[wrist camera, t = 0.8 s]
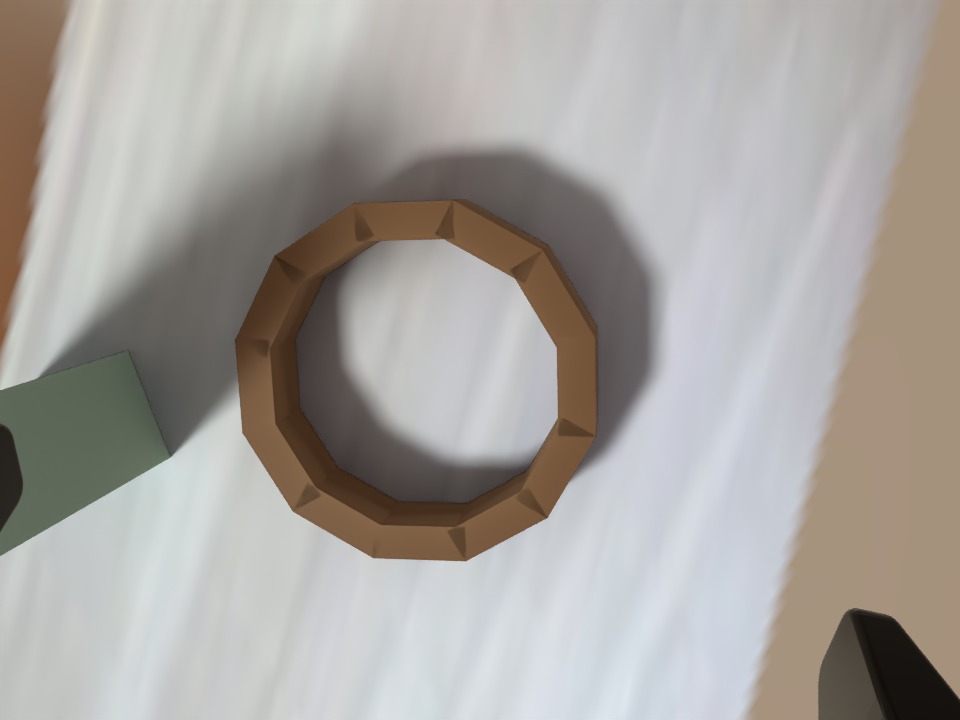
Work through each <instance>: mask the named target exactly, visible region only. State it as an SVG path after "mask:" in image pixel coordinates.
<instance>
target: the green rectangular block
mask: <svg viewBox="0 0 960 720" xmlns="http://www.w3.org/2000/svg"><path fill="white" fill-rule="evenodd" d="M0 423H1V424H4V425H5V426H7V427H8V428H9V429H10V431H11V432H12V434H13V437H14V442H15V446H16V450H17V455H18V459H19V463H20V468H21V472H22V476H23V492H22V496H21V498H20V501H19V503H18V505H17V507H16V508H15V510H14V512H13V513H12V515H11V516H10V518H9V520H8V521H7V523H6V525H5V526H4V528H3V529H2V531H1V533H0V556H1V555H3V554H5V553H6V552H8V551H10V550H11V549H13V548H15V547H17V546H18V545H20V544H22V543H24V542H25V541H27V540H29V539H30V538H32V537H34V536H36V535H37V534H39V533H41V532H43V531H44V530H46V529H48V528H49V527H51V526H53V525H55V524H56V523H58V522H60V521H62V520H63V519H65V518H67V517H68V516H70V515H72V514H74V513H75V512H77V511H79V510H80V509H82V508H84V507H86V506H87V505H89V504H91V503H93V502H94V501H96V500H98V499H99V498H101V497H103V496H105V495H106V494H108V493H110V492H112V491H113V490H115V489H117V488H118V487H120V486H122V485H124V484H125V483H127V482H129V481H131V480H132V479H134V478H136V477H137V476H139V475H141V474H143V473H144V472H146V471H148V470H150V469H151V468H153V467H155V466H156V465H158V464H160V463H162V462H163V461H165V460H167V459H169V458H170V455H169V452H168V450H167V447H166V445H165V442H164V440H163V437H162V435H161V432H160V430H159V427H158V425H157V422H156V420H155V417H154V415H153V412H152V409H151V407H150V404H149V402H148V399H147V397H146V394H145V392H144V389H143V387H142V384H141V382H140V379H139V377H138V374H137V372H136V369H135V367H134V364H133V362H132V359H131V357H130V354H129V352H128V350H127V351H124V352H121V353H118V354H115V355H112V356H108V357H105V358H102V359H99V360H96V361H92V362H89V363H86V364H83V365H80V366H76V367H73V368H70V369H67V370H64V371H61V372H57V373H54V374H51V375H48V376H45V377H41V378H38V379H35V380H32V381H29V382H26V383H22V384H19V385H16V386H13V387H10V388H6V389H3V390H0Z"/></svg>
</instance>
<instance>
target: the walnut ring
mask: <svg viewBox="0 0 960 720" xmlns="http://www.w3.org/2000/svg"><path fill="white" fill-rule="evenodd" d="M427 239H445V240H447V241H449V242H450V243H452V244H454V245H456V246H458V247H459V248H461V249H463V250H465V251H467V252H468V253H470V254H472V255H474V256H476V257H477V258H479V259H481V260H483V261H485V262H486V263H488V264H490V265H492V266H494V267H495V268H497V269H499V270H501V271H503V272H504V273H506V274H508V275H510V276H512V277H513V278H515V279H516V281H517V283H518V284H519V286H520V287H521V289H522V291H523V292H524V294H525V296H526V297H527V299H528V301H529V302H530V304H531V306H532V307H533V309H534V311H535V312H536V314H537V316H538V317H539V319H540V321H541V322H542V324H543V326H544V327H545V329H546V331H547V332H548V334H549V335H550V337H551V339H552V340H553V342H554V344H555V345H556V347H557V380H558V419H557V421H556V422H555V424H554V426H553V428H552V429H551V431H550V433H549V434H548V436H547V438H546V440H545V441H544V443H543V445H542V446H541V448H540V450H539V452H538V453H537V455H536V457H535V459H534V460H533V462H532V464H531V465H530V467H529V469H528V470H527V471H525V472H523V473H522V474H520V475H518V476H516V477H514V478H512V479H511V480H509V481H507V482H505V483H503V484H502V485H500V486H498V487H496V488H494V489H492V490H491V491H489V492H487V493H485V494H483V495H481V496H480V497H478V498H476V499H474V500H472V501H471V502H469V503H433V502H398V501H396V500H394V499H392V498H391V497H389V496H387V495H386V494H384V493H382V492H380V491H379V490H377V489H375V488H373V487H372V486H370V485H368V484H366V483H365V482H363V481H361V480H359V479H358V478H356V477H354V476H352V475H351V474H349V473H347V472H345V471H344V470H342V469H340V468H338V467H337V465H336V464H335V462H334V461H333V459H332V457H331V456H330V454H329V453H328V451H327V450H326V448H325V446H324V445H323V443H322V442H321V440H320V439H319V437H318V435H317V434H316V432H315V431H314V429H313V427H312V426H311V424H310V423H309V421H308V420H307V418H306V416H305V415H304V413H303V412H302V410H301V408H300V400H299V386H298V371H297V356H296V342H295V338H296V336H297V334H298V332H299V329H300V327H301V325H302V323H303V321H304V319H305V317H306V315H307V313H308V311H309V309H310V307H311V305H312V303H313V301H314V299H315V297H316V295H317V293H318V291H319V288H320V286H321V284H322V282H323V280H324V278H325V276H326V275H328V274H329V273H331V272H332V271H334V270H335V269H337V268H338V267H340V266H342V265H343V264H345V263H346V262H348V261H349V260H351V259H352V258H354V257H356V256H357V255H359V254H360V253H362V252H363V251H365V250H366V249H368V248H370V247H371V246H373V245H374V244H376V243H377V242H379V241H387V240H427ZM235 344H236V357H237V369H238V382H239V394H240V407H241V419H242V433H243V434H244V436H245V437H246V439H247V440H248V442H249V444H250V445H251V447H252V448H253V450H254V451H255V453H256V455H257V456H258V458H259V459H260V461H261V462H262V464H263V465H264V467H265V469H266V470H267V472H268V473H269V475H270V476H271V478H272V480H273V481H274V483H275V484H276V486H277V487H278V489H279V491H280V492H281V494H282V495H283V497H284V498H285V500H286V501H287V503H288V505H289V506H290V508H291V509H292V511H293V512H295V513H296V514H298V515H300V516H302V517H303V518H305V519H307V520H308V521H310V522H312V523H314V524H315V525H317V526H319V527H321V528H322V529H324V530H326V531H327V532H329V533H331V534H333V535H334V536H336V537H338V538H340V539H341V540H343V541H345V542H346V543H348V544H350V545H352V546H353V547H355V548H357V549H359V550H360V551H362V552H364V553H366V554H367V555H369V556H371V557H372V558H384V559H414V560H445V561H467V560H469V559H471V558H473V557H475V556H477V555H478V554H480V553H482V552H484V551H486V550H488V549H490V548H492V547H493V546H495V545H497V544H499V543H501V542H503V541H505V540H507V539H509V538H510V537H512V536H514V535H516V534H518V533H520V532H522V531H524V530H525V529H527V528H529V527H531V526H533V525H535V524H537V523H539V522H541V521H542V520H544V519H546V518H548V516H549V514H550V513H551V511H552V509H553V508H554V506H555V504H556V503H557V501H558V499H559V498H560V496H561V494H562V492H563V491H564V489H565V487H566V486H567V484H568V482H569V481H570V479H571V477H572V476H573V474H574V472H575V471H576V469H577V467H578V466H579V464H580V462H581V461H582V459H583V457H584V456H585V454H586V452H587V450H588V449H589V447H590V445H591V444H592V442H593V440H594V439H595V437H596V432H597V423H598V368H597V326H596V324H595V322H594V321H593V319H592V317H591V316H590V314H589V312H588V311H587V309H586V307H585V306H584V304H583V302H582V301H581V299H580V297H579V296H578V294H577V292H576V291H575V289H574V287H573V286H572V284H571V282H570V281H569V279H568V277H567V276H566V274H565V272H564V270H563V269H562V267H561V265H560V264H559V262H558V260H557V259H556V257H555V255H554V254H553V252H552V250H551V249H550V247H549V245H547V244H545V243H543V242H541V241H539V240H538V239H536V238H534V237H532V236H530V235H529V234H527V233H525V232H523V231H521V230H519V229H518V228H516V227H514V226H512V225H510V224H509V223H507V222H505V221H503V220H501V219H500V218H498V217H496V216H494V215H492V214H491V213H489V212H487V211H485V210H483V209H481V208H480V207H478V206H476V205H474V204H472V203H471V202H469V201H467V200H446V201H414V202H383V203H354V204H352V205H351V206H349V207H348V208H346V209H345V210H343V211H342V212H340V213H339V214H337V215H336V216H334V217H333V218H331V219H330V220H328V221H327V222H325V223H324V224H322V225H321V226H319V227H318V228H316V229H315V230H313V231H312V232H310V233H308V234H307V235H305V236H304V237H302V238H301V239H299V240H298V241H296V242H295V243H293V244H292V245H290V246H289V247H287V248H286V249H284V250H283V251H281V252H280V253H278V254H277V255H275V256H274V258H273V261H272V263H271V265H270V267H269V269H268V271H267V273H266V275H265V278H264V280H263V282H262V284H261V286H260V288H259V290H258V292H257V295H256V297H255V299H254V301H253V303H252V305H251V307H250V310H249V312H248V314H247V316H246V318H245V320H244V322H243V324H242V327H241V329H240V331H239V333H238V335H237V337H236V339H235Z"/></svg>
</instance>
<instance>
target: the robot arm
mask: <svg viewBox="0 0 960 720" xmlns="http://www.w3.org/2000/svg"><path fill="white" fill-rule="evenodd" d="M22 492H23V476H22V472H21V468H20V463H19V459H18V455H17V450H16V446H15V442H14V437H13V434H12V432H11V431H10V429H9V428H8V427H7V426H5V425H4V424H1V423H0V533H1V531H2V529H3V528H4V526H5V525H6V523H7V521H8V520H9V518H10V516H11V515H12V513H13V512H14V510H15V508H16V507H17V505H18V503H19V501H20V498H21V496H22ZM818 720H960V699H959V698H958V696H957V695H956V694H955V693H954V691H953V690H952V689H951V688H950V686H949V685H948V684H947V683H946V681H945V680H944V679H943V678H942V676H941V675H940V674H939V673H938V672H937V670H936V669H935V668H934V666H933V665H932V664H931V663H930V661H929V660H928V659H927V658H926V656H925V655H924V654H923V653H922V652H921V650H920V649H919V648H918V646H917V645H916V644H915V643H914V641H913V640H912V639H911V638H910V636H909V635H908V634H907V633H906V632H905V630H904V629H903V628H902V626H901V625H900V624H899V623H898V622H897V621H896V620H895V619H894V618H892V617H891V616H888V615H886V614H881V613H876V612H872V611H867V610H863V609H858V608H853V609H849V610H848V611H847V612H846V613H845V614H844V615H843V617H842V619H841V621H840V623H839V625H838V628H837V630H836V632H835V634H834V637H833V639H832V641H831V643H830V645H829V648H828V650H827V652H826V654H825V656H824V659H823V661H822V664H821V668H820V673H819V681H818Z"/></svg>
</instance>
